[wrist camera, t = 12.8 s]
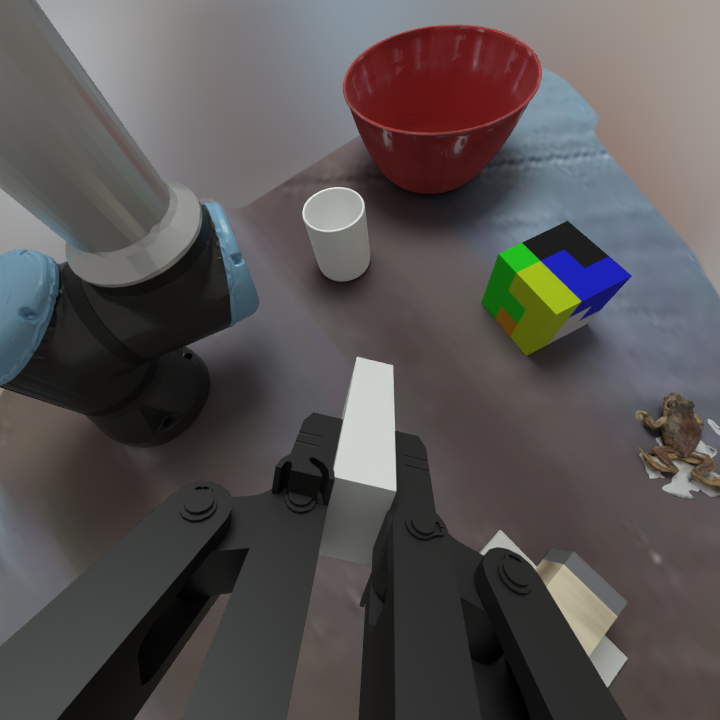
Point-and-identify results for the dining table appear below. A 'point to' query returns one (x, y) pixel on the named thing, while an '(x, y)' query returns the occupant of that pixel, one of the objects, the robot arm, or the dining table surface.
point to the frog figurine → (681, 449)
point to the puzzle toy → (550, 286)
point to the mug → (338, 232)
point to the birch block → (580, 596)
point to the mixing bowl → (440, 102)
